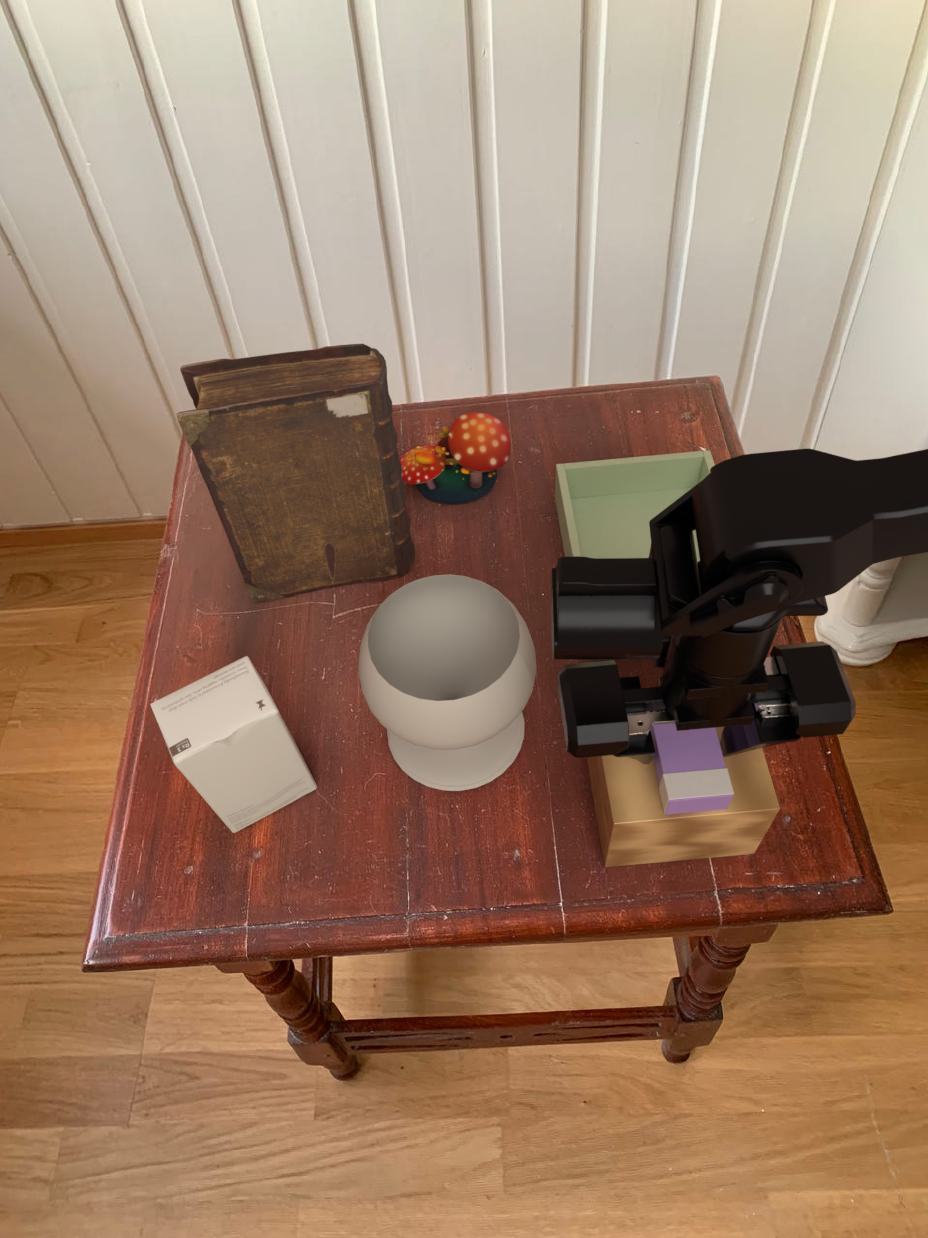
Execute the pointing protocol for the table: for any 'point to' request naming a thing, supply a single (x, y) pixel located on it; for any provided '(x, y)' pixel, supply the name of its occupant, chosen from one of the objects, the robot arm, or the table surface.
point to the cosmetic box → (233, 745)
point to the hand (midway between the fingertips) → (683, 754)
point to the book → (302, 467)
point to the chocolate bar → (690, 770)
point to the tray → (621, 500)
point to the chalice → (449, 679)
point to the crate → (651, 836)
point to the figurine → (459, 460)
